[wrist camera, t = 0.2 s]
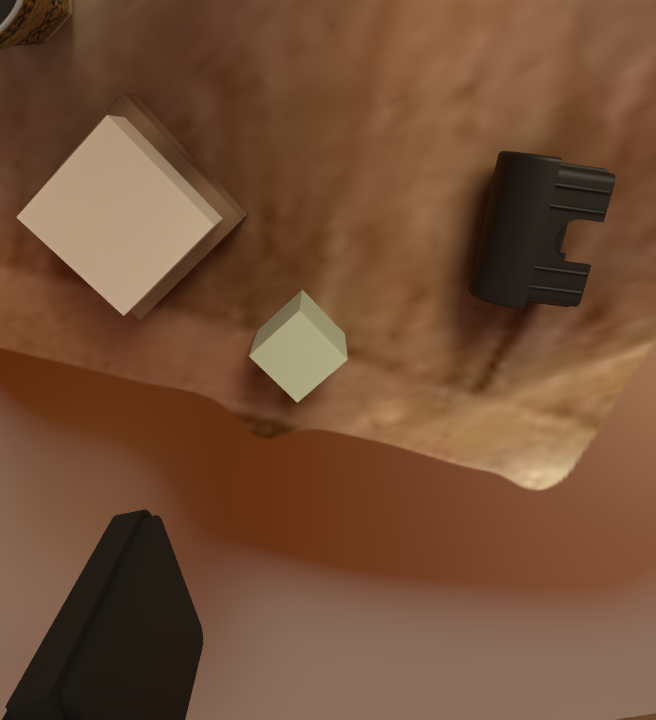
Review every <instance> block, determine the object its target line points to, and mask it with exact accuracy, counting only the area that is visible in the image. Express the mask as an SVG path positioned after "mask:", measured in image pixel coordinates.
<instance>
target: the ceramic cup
mask: <svg viewBox="0 0 656 720" xmlns="http://www.w3.org/2000/svg"><path fill="white" fill-rule="evenodd" d="M72 12H73V10H72V0H0V49H2V48H6V47H10V46H19V45H31V44H43V43H46V42H47V41H48V40H50V38H51V37H52V36H53V35H54V34H55V33H56V32H57V31H58V30H59V29H60V27H61V26H62V25H63V24H64V23H65V22H66V21H67V20H68V19H69V18H70V16H71V15H72Z"/></svg>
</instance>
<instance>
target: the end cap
mask: <svg viewBox="0 0 656 720" xmlns="http://www.w3.org/2000/svg"><path fill="white" fill-rule="evenodd" d="M561 162H562V159H561V158H558V157H551V156H544V155H536V154H528V153H520V152H510V151H501V152H500V153H499V154H498V158H497V163H496V167H495V172H494V176H493V181H492V185H491V190H490V195H489V199H488V204H487V208H486V213H485V217H484V222H483V226H482V231H481V236H480V240H479V245H478V249H477V254H476V258H475V263H474V267H473V272H472V277H471V281H470V286H469V291H470V293H471V294H472V295H473V296H475V297H477V298H478V299H481V300H483V301H486V302H489V303H492V304H496V305H499V306H504V307H508V308H514V309H520V310H523V309H524V307H525V303H526V302H532V303H540V304H548V305H555V306H563V307H569V306H574V307H577V306H578V305H579V304H580V301H581V298H582V295H583V292H584V288H585V285H586V281H587V278H588V274H589V271H590V267H591V265H589V264H582V263H575V262H567V261H564V259H565V255H566V254H565V253H561V252H560V250H561V247H562V243H563V239H564V235H565V232H566V228H567V224H568V222H570V221H572V220H577V219H583V220H590V221H597V222H604V219H605V215H606V212H607V208H608V205H609V202H610V198H611V195H612V191H613V188H614V184H615V175H614V174H611V173H609V172H608V171H607V169H603V168H596V167H589V166H582V165H575V164H568V163H561Z"/></svg>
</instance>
